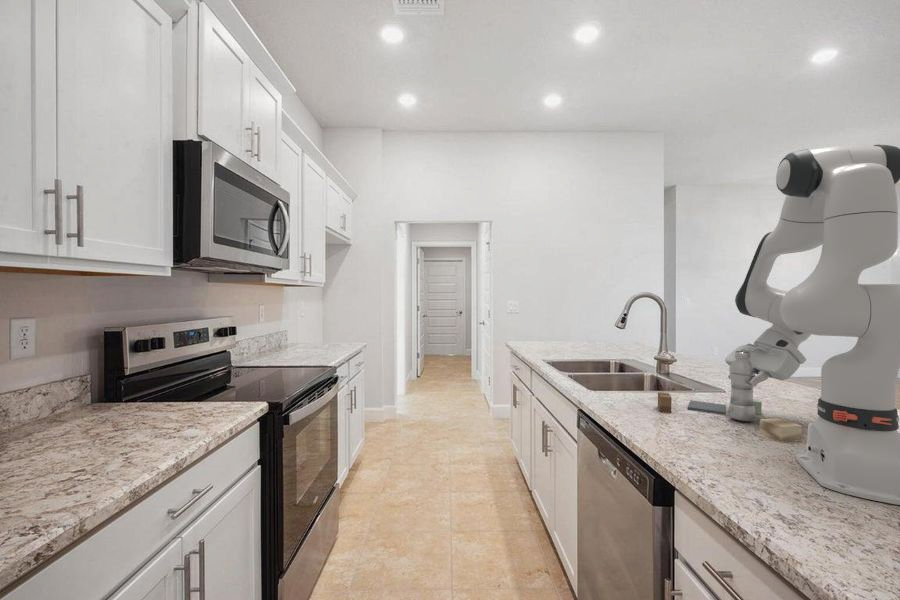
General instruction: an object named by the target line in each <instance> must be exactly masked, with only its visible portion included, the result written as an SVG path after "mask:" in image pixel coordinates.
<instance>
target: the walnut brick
mask: <svg viewBox="0 0 900 600" xmlns="http://www.w3.org/2000/svg"><path fill="white" fill-rule="evenodd" d="M672 397H673V396H671V394H670V393H669V392H661V391H658V392H657V409H658V410H659V412H660V413H666V414H672Z"/></svg>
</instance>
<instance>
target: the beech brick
mask: <svg viewBox="0 0 900 600" xmlns="http://www.w3.org/2000/svg"><path fill="white" fill-rule="evenodd" d="M802 430H803V426H802V425H801V424H799V423H794V422H792V421H788V420H785V419H783V418H767V419H765V418H764V419H763V418H762V419H759V434H760V435H761V436H765V437H766V436H767V438H769V437H770V439H772V438H773V439H772V440H774V439H775V441H777V440H778V442H780V441H781V442H780V443H783V442H782V441H790V442H796V441H795V440H802V439H803V438H802V436H803V434H802V432H803V431H802Z"/></svg>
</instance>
